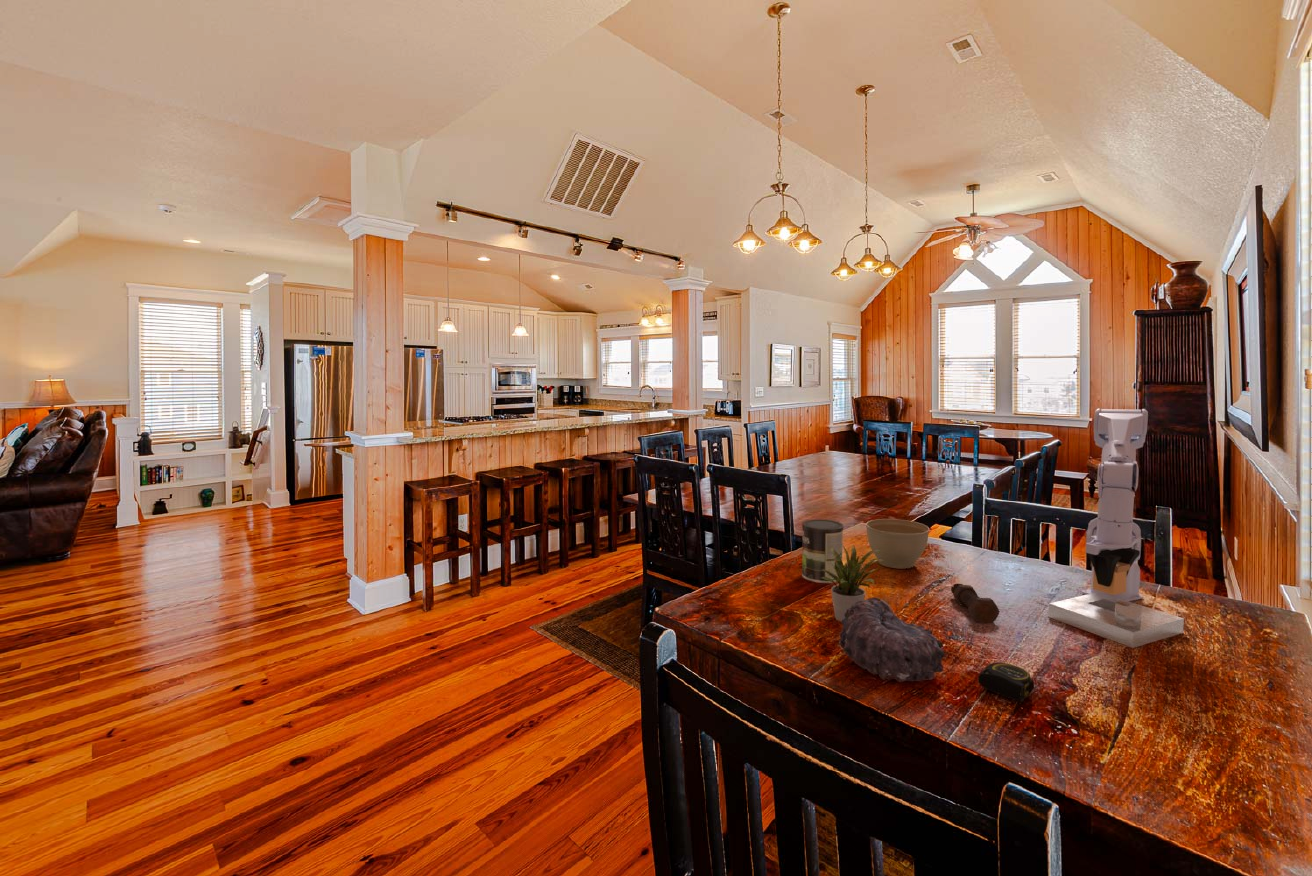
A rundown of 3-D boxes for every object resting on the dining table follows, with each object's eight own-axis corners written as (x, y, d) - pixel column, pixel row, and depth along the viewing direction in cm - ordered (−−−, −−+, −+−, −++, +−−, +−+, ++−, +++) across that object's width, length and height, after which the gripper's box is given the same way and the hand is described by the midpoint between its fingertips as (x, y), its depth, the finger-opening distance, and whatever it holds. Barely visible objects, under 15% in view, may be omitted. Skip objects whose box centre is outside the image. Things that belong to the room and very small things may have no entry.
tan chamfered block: (1102, 585, 126) (1102, 558, 126) (1129, 592, 121) (1130, 564, 121) (1089, 588, 125) (1090, 560, 124) (1116, 595, 120) (1118, 567, 120)
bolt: (960, 605, 138) (989, 629, 123) (941, 594, 138) (967, 617, 123) (974, 584, 137) (1004, 606, 122) (954, 573, 137) (982, 594, 123)
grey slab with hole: (1096, 605, 131) (1098, 574, 131) (1182, 632, 117) (1185, 598, 116) (1048, 616, 125) (1049, 585, 125) (1132, 648, 111) (1135, 612, 110)
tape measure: (975, 690, 97) (976, 668, 97) (996, 677, 101) (997, 657, 100) (1019, 709, 91) (1020, 686, 91) (1040, 695, 95) (1041, 673, 95)
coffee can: (804, 583, 149) (804, 528, 147) (799, 570, 159) (800, 518, 157) (846, 584, 147) (846, 529, 146) (839, 571, 157) (839, 519, 156)
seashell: (853, 644, 118) (807, 621, 111) (891, 594, 117) (848, 568, 109) (925, 718, 101) (877, 696, 94) (971, 660, 100) (925, 634, 93)
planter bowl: (871, 572, 156) (872, 532, 155) (860, 554, 172) (861, 518, 171) (936, 574, 153) (937, 534, 152) (919, 556, 169) (920, 519, 168)
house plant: (900, 618, 126) (902, 543, 124) (873, 639, 116) (875, 558, 114) (837, 601, 136) (838, 532, 134) (808, 620, 126) (808, 545, 124)
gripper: (1115, 512, 128) (1112, 573, 129) (1071, 519, 122) (1068, 582, 124) (1153, 519, 121) (1149, 583, 123) (1108, 526, 116) (1104, 593, 117)
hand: (1111, 583), depth 123 cm, fingers closed on tan chamfered block, 4 cm apart
